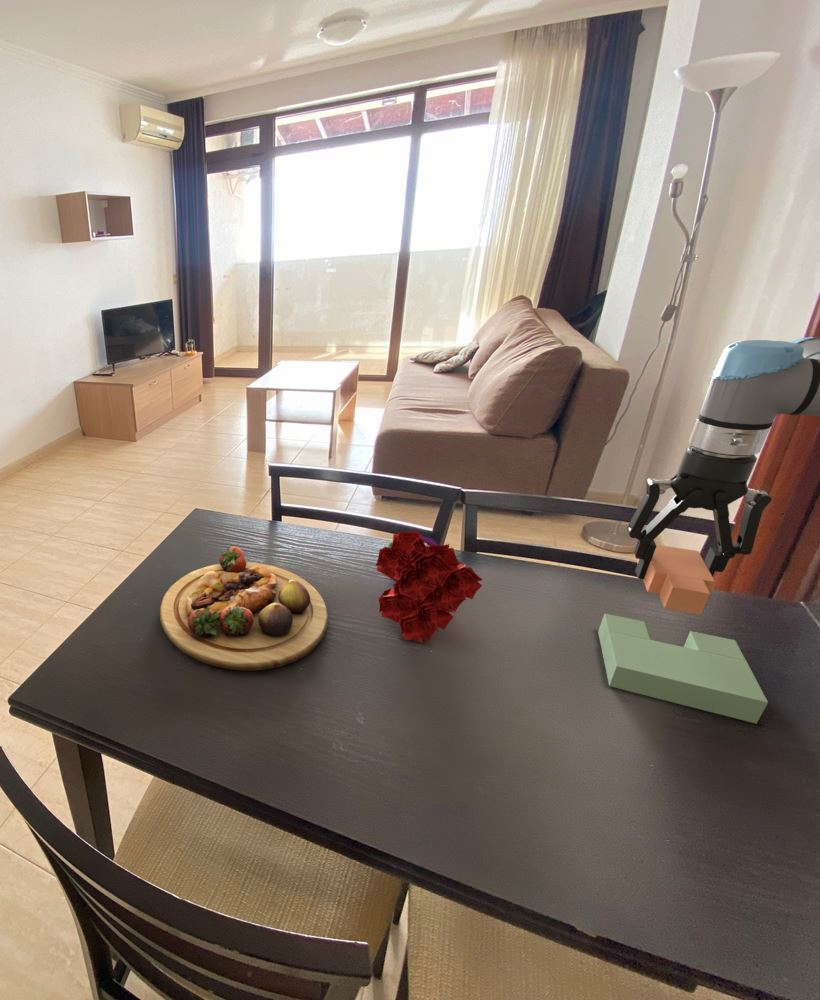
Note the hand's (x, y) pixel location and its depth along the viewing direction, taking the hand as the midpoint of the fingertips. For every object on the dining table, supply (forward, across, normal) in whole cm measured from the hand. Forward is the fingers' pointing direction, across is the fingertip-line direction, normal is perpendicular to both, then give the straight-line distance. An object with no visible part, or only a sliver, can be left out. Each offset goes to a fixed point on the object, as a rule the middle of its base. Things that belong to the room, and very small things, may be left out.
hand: (669, 580), depth 89 cm
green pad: (+9, 0, -12) cm, 16 cm away
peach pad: (0, 0, -2) cm, 2 cm away
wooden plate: (+10, -65, -27) cm, 71 cm away
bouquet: (+10, -38, -7) cm, 40 cm away
